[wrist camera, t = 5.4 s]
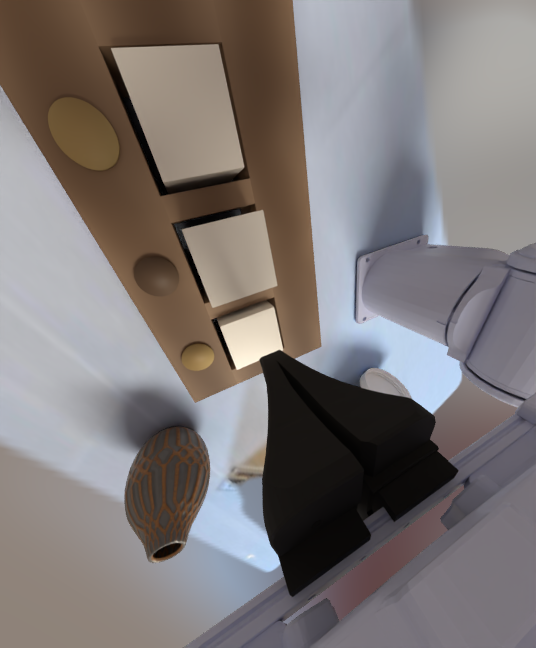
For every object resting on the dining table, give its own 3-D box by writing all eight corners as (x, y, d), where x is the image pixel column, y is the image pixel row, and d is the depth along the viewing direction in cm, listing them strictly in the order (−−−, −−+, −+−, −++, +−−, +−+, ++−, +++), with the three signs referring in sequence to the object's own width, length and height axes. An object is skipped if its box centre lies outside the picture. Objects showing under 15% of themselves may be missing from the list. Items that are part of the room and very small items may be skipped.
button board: (262, 45, 11) (292, -24, 8) (302, 330, 21) (322, 347, 18) (14, 54, 9) (-81, -43, 6) (193, 375, 19) (195, 404, 16)
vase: (117, 451, 19) (76, 590, 12) (172, 405, 19) (165, 515, 12) (173, 468, 23) (168, 581, 16) (218, 430, 23) (235, 524, 16)
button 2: (256, 291, 17) (274, 306, 14) (265, 328, 19) (283, 350, 16) (212, 306, 16) (219, 326, 13) (227, 344, 18) (236, 369, 15)
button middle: (242, 214, 13) (263, 209, 10) (256, 272, 15) (277, 285, 12) (182, 229, 12) (181, 229, 9) (205, 289, 14) (212, 308, 11)
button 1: (207, 99, 11) (218, 44, 8) (229, 182, 13) (244, 167, 10) (134, 106, 10) (110, 48, 7) (168, 194, 12) (163, 182, 9)
